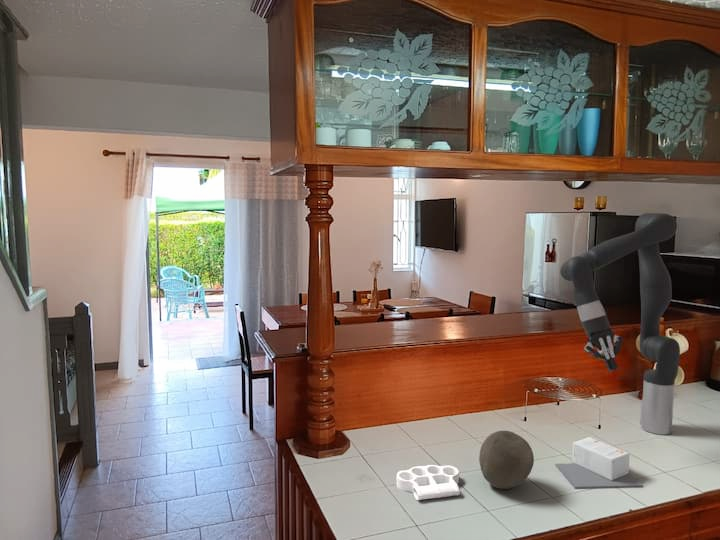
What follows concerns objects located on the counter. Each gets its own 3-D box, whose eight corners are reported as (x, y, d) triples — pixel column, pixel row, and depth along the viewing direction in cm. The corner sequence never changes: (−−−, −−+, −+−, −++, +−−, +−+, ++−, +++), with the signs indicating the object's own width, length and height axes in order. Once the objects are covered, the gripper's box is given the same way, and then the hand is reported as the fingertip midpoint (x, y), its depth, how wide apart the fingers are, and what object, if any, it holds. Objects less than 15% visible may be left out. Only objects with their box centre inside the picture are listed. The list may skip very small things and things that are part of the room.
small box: (571, 462, 153) (611, 481, 141) (572, 442, 152) (612, 459, 141) (589, 456, 157) (629, 474, 145) (590, 436, 156) (630, 452, 145)
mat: (555, 465, 152) (555, 463, 152) (617, 463, 152) (617, 462, 152) (574, 488, 139) (574, 486, 139) (642, 486, 139) (642, 485, 139)
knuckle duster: (406, 505, 132) (391, 477, 146) (470, 497, 136) (450, 470, 150) (406, 493, 132) (391, 466, 146) (471, 485, 135) (450, 459, 150)
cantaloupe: (504, 504, 131) (505, 449, 130) (468, 480, 144) (469, 429, 142) (543, 490, 138) (544, 438, 136) (506, 468, 150) (507, 419, 149)
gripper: (578, 321, 157) (599, 376, 154) (618, 310, 158) (639, 364, 154) (569, 324, 165) (588, 376, 161) (606, 313, 165) (627, 365, 162)
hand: (613, 370), depth 158 cm, fingers closed
